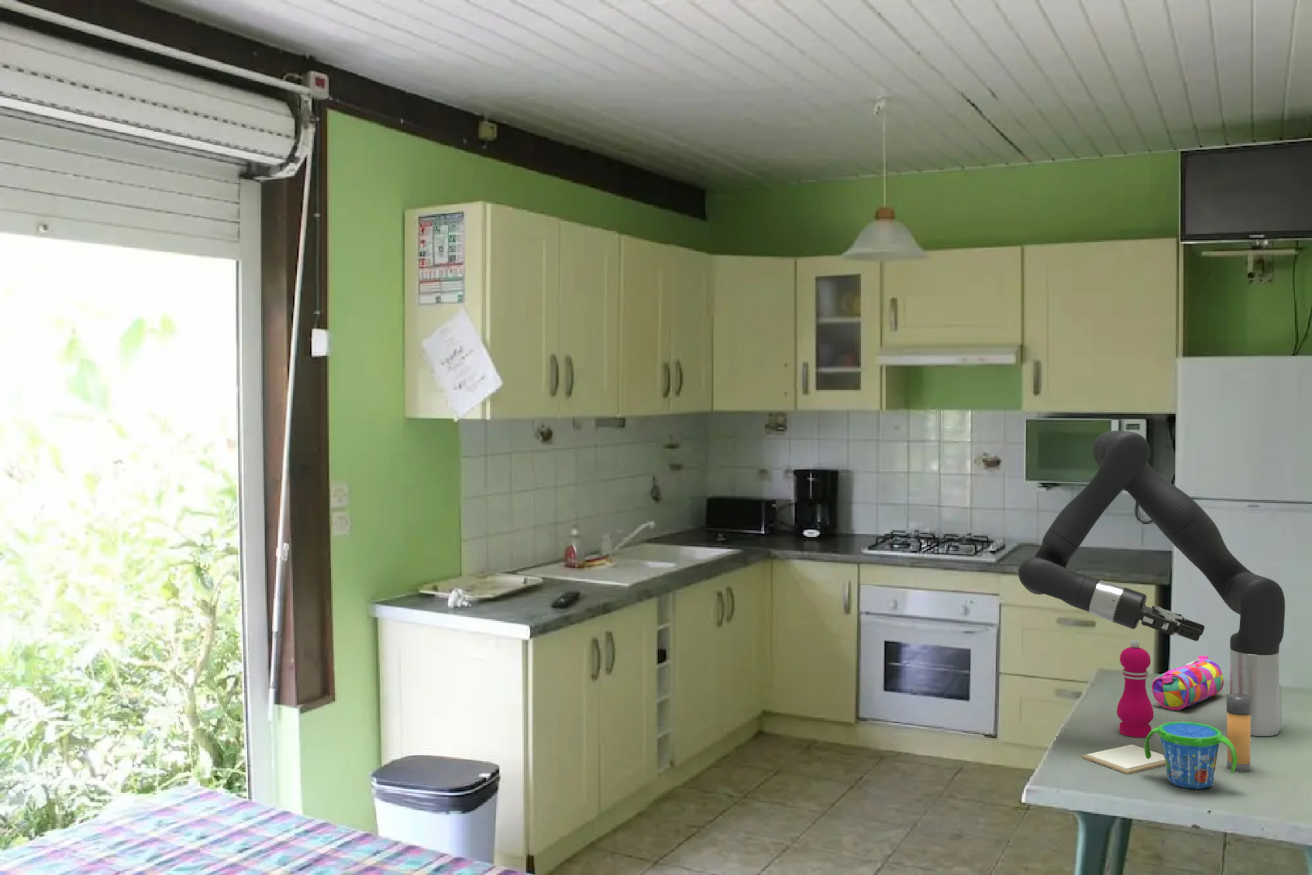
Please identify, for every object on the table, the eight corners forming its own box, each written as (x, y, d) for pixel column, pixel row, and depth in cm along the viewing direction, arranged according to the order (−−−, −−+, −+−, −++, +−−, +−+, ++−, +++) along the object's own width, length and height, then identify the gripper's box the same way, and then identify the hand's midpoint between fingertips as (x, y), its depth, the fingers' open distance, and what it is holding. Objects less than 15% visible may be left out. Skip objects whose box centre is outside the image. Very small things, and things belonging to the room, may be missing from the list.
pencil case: (1184, 688, 272) (1185, 652, 272) (1226, 696, 266) (1226, 658, 265) (1149, 708, 257) (1149, 669, 257) (1191, 716, 250) (1191, 676, 250)
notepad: (1131, 746, 230) (1131, 742, 230) (1177, 762, 220) (1177, 758, 220) (1081, 757, 223) (1081, 753, 223) (1127, 774, 214) (1127, 770, 214)
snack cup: (1135, 781, 210) (1135, 727, 210) (1157, 766, 217) (1157, 715, 217) (1224, 801, 199) (1224, 744, 199) (1244, 785, 206) (1244, 731, 206)
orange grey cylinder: (1236, 763, 218) (1236, 692, 218) (1255, 769, 215) (1256, 697, 214) (1221, 766, 217) (1221, 695, 216) (1241, 773, 213) (1241, 700, 212)
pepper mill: (1143, 740, 233) (1143, 645, 233) (1110, 732, 239) (1110, 640, 238) (1160, 733, 238) (1160, 640, 237) (1127, 725, 244) (1127, 634, 243)
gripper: (1118, 589, 222) (1205, 619, 214) (1127, 583, 234) (1210, 611, 226) (1106, 625, 223) (1192, 656, 215) (1116, 617, 235) (1198, 646, 227)
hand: (1201, 633), depth 221 cm, fingers open, 8 cm apart
